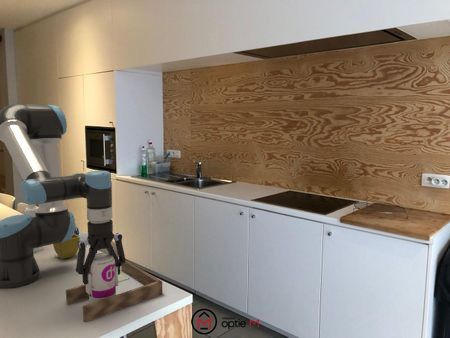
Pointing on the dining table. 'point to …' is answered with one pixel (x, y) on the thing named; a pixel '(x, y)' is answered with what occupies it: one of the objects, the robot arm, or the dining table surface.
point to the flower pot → (67, 247)
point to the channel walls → (120, 300)
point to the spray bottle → (31, 211)
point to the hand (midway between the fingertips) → (102, 288)
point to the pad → (122, 277)
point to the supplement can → (102, 277)
